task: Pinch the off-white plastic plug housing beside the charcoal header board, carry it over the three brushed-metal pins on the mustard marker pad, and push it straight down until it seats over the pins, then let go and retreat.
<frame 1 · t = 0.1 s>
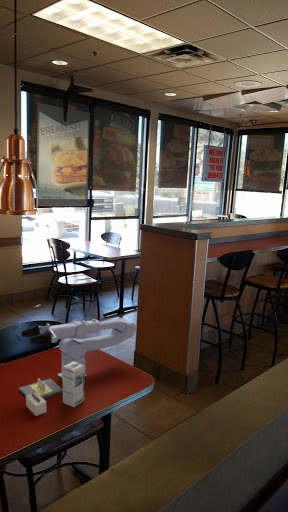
hand: (26, 337, 151), 22 cm above the table, tool horizontal, fingers open, 7 cm apart
plug housing: (36, 409, 142), on the table
syrup box: (73, 402, 147), on the table
header board: (41, 391, 154), on the table
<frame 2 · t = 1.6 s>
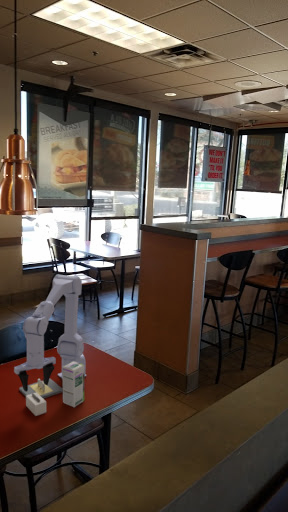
hand: (35, 387, 140), 8 cm above the table, tool pointing down, fingers open, 7 cm apart
nothing on the table moved.
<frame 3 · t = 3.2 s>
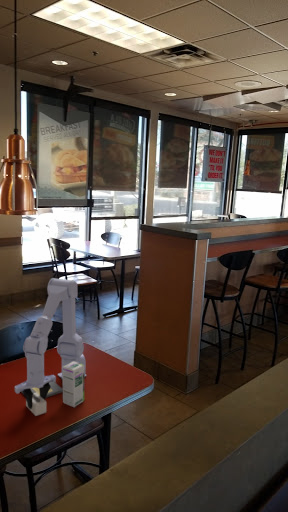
hand: (36, 405, 142), 1 cm above the table, tool pointing down, fingers closed on plug housing, 4 cm apart
plug housing: (36, 409, 142), on the table, touching gripper
everything else where it was.
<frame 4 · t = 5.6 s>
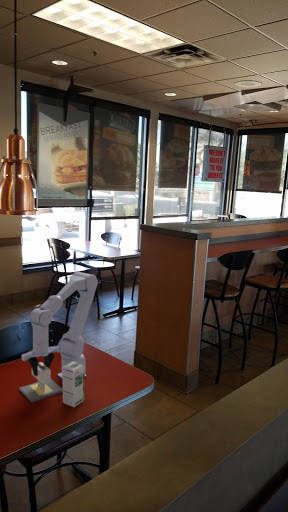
hand: (41, 373, 153), 7 cm above the table, tool pointing down, fingers closed on plug housing, 4 cm apart
plug housing: (41, 376, 153), point 6 cm above the table, touching gripper
everything else where it was.
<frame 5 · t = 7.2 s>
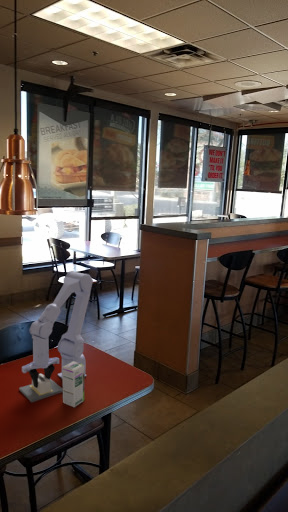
hand: (41, 384, 154), 3 cm above the table, tool pointing down, fingers closed on plug housing, 4 cm apart
plug housing: (41, 388, 154), point 1 cm above the table, touching gripper
everything else where it was.
when the fingers open (3 cm above the table, at t = 8.3 s): plug housing stays where it is, resting on header board.
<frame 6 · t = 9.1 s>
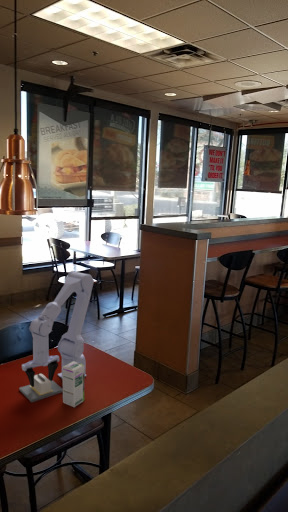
hand: (41, 382, 154), 3 cm above the table, tool pointing down, fingers open, 7 cm apart
plug housing: (41, 388, 154), point 1 cm above the table, touching header board
everything else where it was.
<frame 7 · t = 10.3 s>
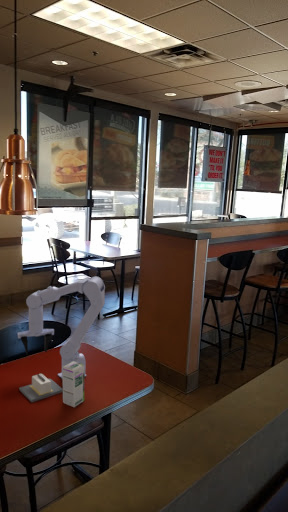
hand: (36, 352, 167), 9 cm above the table, tool pointing down, fingers open, 7 cm apart
nothing on the table moved.
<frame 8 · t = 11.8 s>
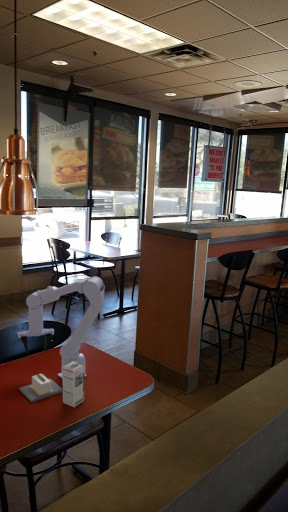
hand: (36, 352, 167), 9 cm above the table, tool pointing down, fingers open, 7 cm apart
nothing on the table moved.
at the end: plug housing 0.0 cm off-centre on the header board, point 1.1 cm above the header board's base; plug housing tilted 0°; the gripper is holding nothing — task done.
